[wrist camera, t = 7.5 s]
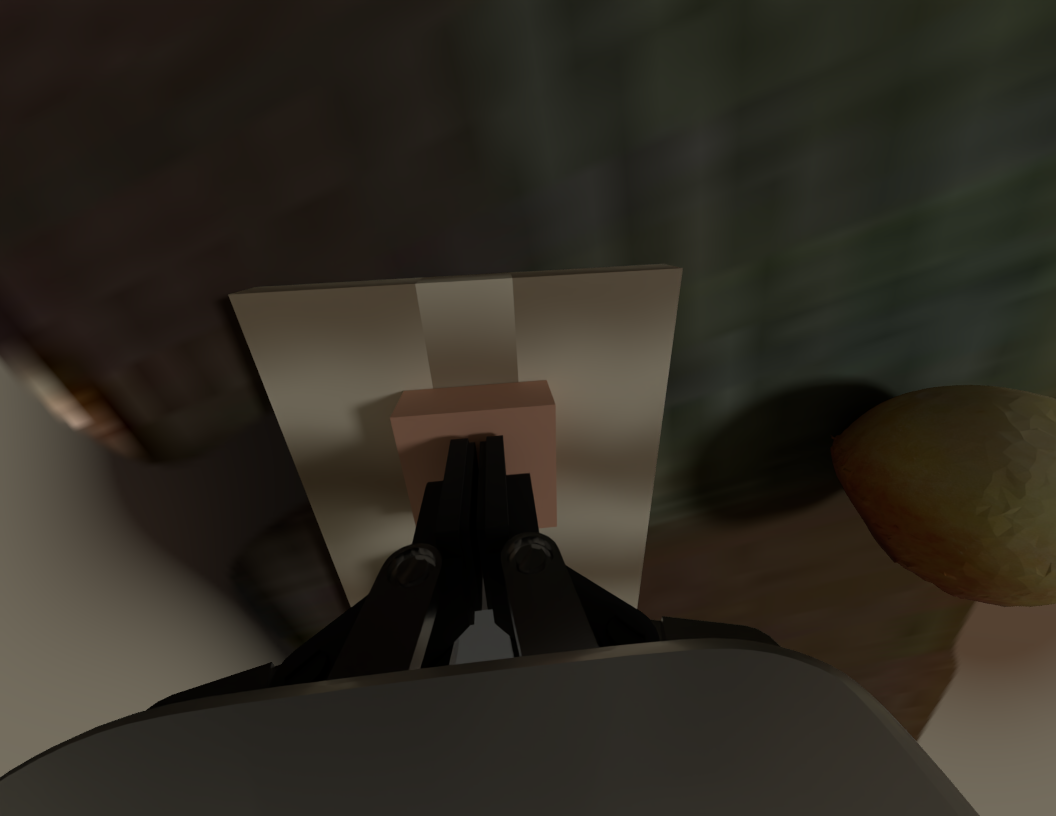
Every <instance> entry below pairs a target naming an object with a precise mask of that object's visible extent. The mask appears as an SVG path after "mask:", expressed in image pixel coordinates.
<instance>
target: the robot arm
mask: <svg viewBox="0 0 1056 816" xmlns="http://www.w3.org/2000/svg"><path fill="white" fill-rule="evenodd" d="M483 580H484V587H485V594H486V601H487V608H488V610H491V609H493V616H494V623H495V624H496V625H497V626H498V627H499V628H501V629H502V630H503V631H504V632H505V633H507V634H508V635H509V640H510V646H511V651H512V656H513V658H506V659H497V660H489V661H481V662H472V663H464V664H456V665H455V663H456V659H457V654H458V649H459V637H460V636H461V635H462V634H463V633H464V631H465V630H466V629H467V628H468V627H469V626H470V625H474V621H475V611H482V590H483ZM0 816H979V815H978V813H977V812H976V811H975V810H974V808H973V807H972V806H971V805H970V804H969V802H968V801H967V800H966V799H965V798H964V797H963V795H962V794H961V793H960V792H959V790H958V789H957V788H956V787H955V786H954V784H953V783H952V782H951V781H950V780H949V778H948V777H947V776H946V775H945V774H944V773H943V771H942V770H941V769H940V768H939V767H938V766H937V765H936V763H935V762H934V761H933V760H932V759H931V758H930V757H929V755H928V754H927V753H926V752H925V751H924V750H923V749H922V748H921V746H920V745H919V744H918V743H917V742H916V741H915V740H914V738H913V737H912V736H911V735H910V734H909V733H908V732H907V731H906V730H905V729H904V728H903V727H902V726H901V725H900V723H899V722H898V721H897V720H896V719H895V718H894V717H893V716H892V715H891V714H890V713H889V712H888V711H887V710H886V709H885V708H884V707H883V706H882V705H881V704H880V703H879V702H878V701H877V700H876V699H875V698H874V697H873V696H872V695H871V694H870V693H869V692H867V691H866V690H865V689H864V688H863V687H862V686H861V685H860V684H858V683H857V682H856V681H854V680H853V679H852V678H850V677H849V676H847V675H846V674H845V673H843V672H842V671H840V670H838V669H836V668H835V667H833V666H831V665H829V664H827V663H825V662H823V661H820V660H818V659H816V658H814V657H811V656H808V655H805V654H803V653H800V652H797V651H794V650H790V649H787V648H783V647H780V646H779V645H778V644H777V643H776V642H775V641H774V640H773V639H772V638H771V637H770V636H768V635H767V634H765V633H763V632H762V631H760V630H758V629H755V628H752V627H748V626H743V625H734V624H726V623H717V622H708V621H699V620H690V619H682V618H673V617H664V616H662V620H661V621H657V620H650V619H649V618H648V617H647V616H646V615H644V614H643V613H642V612H641V611H639V610H638V609H636V608H634V607H633V606H631V605H630V604H628V603H626V602H625V601H623V600H621V599H620V598H618V597H617V596H615V595H613V594H612V593H610V592H608V591H607V590H605V589H604V588H602V587H600V586H599V585H597V584H596V583H594V582H592V581H591V580H589V579H587V578H586V577H584V576H583V575H581V574H579V573H578V572H576V571H574V570H573V569H571V568H570V567H568V566H566V565H565V562H564V560H563V558H562V555H561V553H560V550H559V548H558V546H557V545H556V543H555V541H553V540H552V539H551V538H550V537H549V536H546V535H544V534H542V533H539V527H538V521H537V514H536V508H535V502H534V495H533V489H532V483H531V476H530V473H522V474H511V475H506V464H505V453H504V441H503V435H499V436H487V437H486V441H480V452H479V468H478V460H477V452H476V445H475V442H469V440H468V438H463V439H451V440H450V445H449V451H448V457H447V462H446V468H445V473H444V479H443V481H434V482H428V483H427V484H426V487H425V491H424V496H423V500H422V504H421V508H420V512H419V516H418V521H417V525H416V529H415V533H414V537H413V541H412V544H410V545H407V546H404V547H402V548H400V549H399V550H397V551H395V552H394V553H393V554H392V555H390V556H389V557H388V558H387V559H386V561H385V562H384V564H383V565H382V567H381V569H380V571H379V573H378V575H377V577H376V580H375V582H374V584H373V586H372V588H371V590H370V592H369V594H368V595H367V596H365V597H364V598H363V599H361V600H360V601H359V602H358V603H356V604H355V605H354V606H352V607H351V608H350V609H348V610H347V611H346V612H345V613H343V614H342V615H341V616H339V617H338V618H337V619H335V620H334V621H333V622H332V623H330V624H329V625H328V626H326V627H325V628H324V629H322V630H321V631H320V632H318V633H317V634H316V635H315V636H313V637H312V638H311V639H309V640H308V641H307V642H305V643H304V644H303V645H302V646H300V647H299V648H298V649H296V650H295V651H294V652H293V653H292V654H291V655H290V656H289V657H287V658H286V659H285V660H284V662H283V663H282V664H281V665H278V666H274V664H273V663H272V662H270V663H267V664H265V665H261V666H259V667H255V668H252V669H250V670H246V671H243V672H240V673H237V674H234V675H231V676H228V677H225V678H222V679H219V680H216V681H213V682H210V683H207V684H204V685H201V686H198V687H195V688H192V689H189V690H186V691H182V692H180V693H177V694H174V695H171V696H169V697H167V698H165V699H163V700H161V701H158V702H157V703H155V704H154V705H153V706H151V707H150V708H148V709H147V710H146V711H142V712H138V713H135V714H132V715H129V716H126V717H123V718H121V719H118V720H115V721H112V722H109V723H107V724H103V725H101V726H98V727H95V728H93V729H91V730H89V731H86V732H84V733H82V734H80V735H78V736H75V737H73V738H71V739H69V740H67V741H65V742H62V743H60V744H58V745H56V746H53V747H51V748H50V749H48V750H46V751H44V752H42V753H40V754H38V755H36V756H34V757H33V758H31V759H29V760H27V761H26V762H24V763H22V764H21V765H19V766H17V767H15V768H14V769H12V770H10V771H9V772H8V773H6V774H4V775H3V776H2V777H0Z"/></svg>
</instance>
